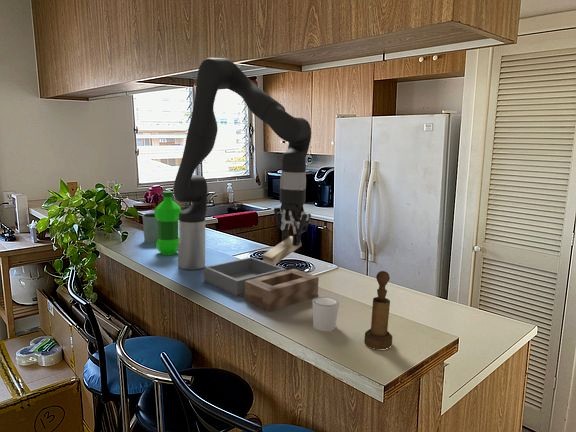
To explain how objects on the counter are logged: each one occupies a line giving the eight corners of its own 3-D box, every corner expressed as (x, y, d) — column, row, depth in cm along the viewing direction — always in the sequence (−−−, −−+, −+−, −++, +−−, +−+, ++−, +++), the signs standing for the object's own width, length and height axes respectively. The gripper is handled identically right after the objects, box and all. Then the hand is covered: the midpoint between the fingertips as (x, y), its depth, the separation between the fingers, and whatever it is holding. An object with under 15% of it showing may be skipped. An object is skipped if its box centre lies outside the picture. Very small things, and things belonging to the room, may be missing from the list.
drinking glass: (155, 237, 204) (155, 212, 202) (171, 240, 199) (171, 214, 197) (137, 241, 195) (137, 215, 193) (154, 245, 190) (153, 217, 188)
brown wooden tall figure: (392, 352, 102) (398, 277, 99) (363, 348, 103) (368, 274, 100) (391, 339, 108) (397, 268, 105) (364, 336, 110) (369, 266, 106)
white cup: (318, 334, 110) (320, 307, 109) (306, 323, 116) (307, 297, 115) (342, 330, 113) (344, 304, 111) (329, 319, 119) (331, 294, 118)
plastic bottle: (175, 257, 173) (174, 194, 168) (150, 255, 174) (149, 192, 170) (186, 251, 182) (185, 191, 178) (162, 249, 184) (161, 189, 180)
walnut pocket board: (268, 311, 123) (269, 291, 122) (244, 300, 131) (244, 281, 129) (317, 295, 136) (318, 277, 135) (292, 286, 144) (293, 268, 143)
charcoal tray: (237, 297, 133) (237, 281, 132) (204, 281, 146) (204, 267, 145) (285, 283, 147) (286, 269, 146) (251, 270, 159) (251, 257, 159)
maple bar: (273, 265, 126) (271, 258, 125) (264, 262, 129) (262, 254, 128) (301, 245, 133) (300, 238, 132) (292, 242, 136) (290, 235, 135)
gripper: (267, 185, 132) (265, 241, 135) (301, 190, 122) (298, 251, 125) (285, 183, 137) (283, 237, 140) (319, 189, 127) (316, 247, 130)
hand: (290, 243), depth 133 cm, fingers closed on maple bar, 4 cm apart
